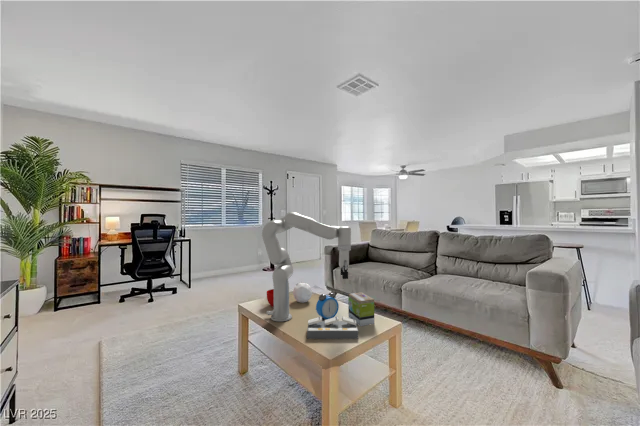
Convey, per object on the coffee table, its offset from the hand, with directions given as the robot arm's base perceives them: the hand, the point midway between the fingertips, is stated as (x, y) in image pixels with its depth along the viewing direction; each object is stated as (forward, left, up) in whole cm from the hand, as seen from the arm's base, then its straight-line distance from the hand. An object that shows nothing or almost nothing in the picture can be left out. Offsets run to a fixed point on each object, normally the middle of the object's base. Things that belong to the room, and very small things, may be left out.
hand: (344, 276), depth 162 cm
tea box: (+10, +3, -27) cm, 29 cm away
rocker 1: (-17, -13, -21) cm, 30 cm away
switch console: (-8, -14, -27) cm, 31 cm away
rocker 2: (-8, -13, -21) cm, 26 cm away
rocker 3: (+1, -13, -21) cm, 25 cm away
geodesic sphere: (-27, +38, -27) cm, 54 cm away
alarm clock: (-10, +7, -27) cm, 30 cm away
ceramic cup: (-46, +31, -27) cm, 61 cm away
